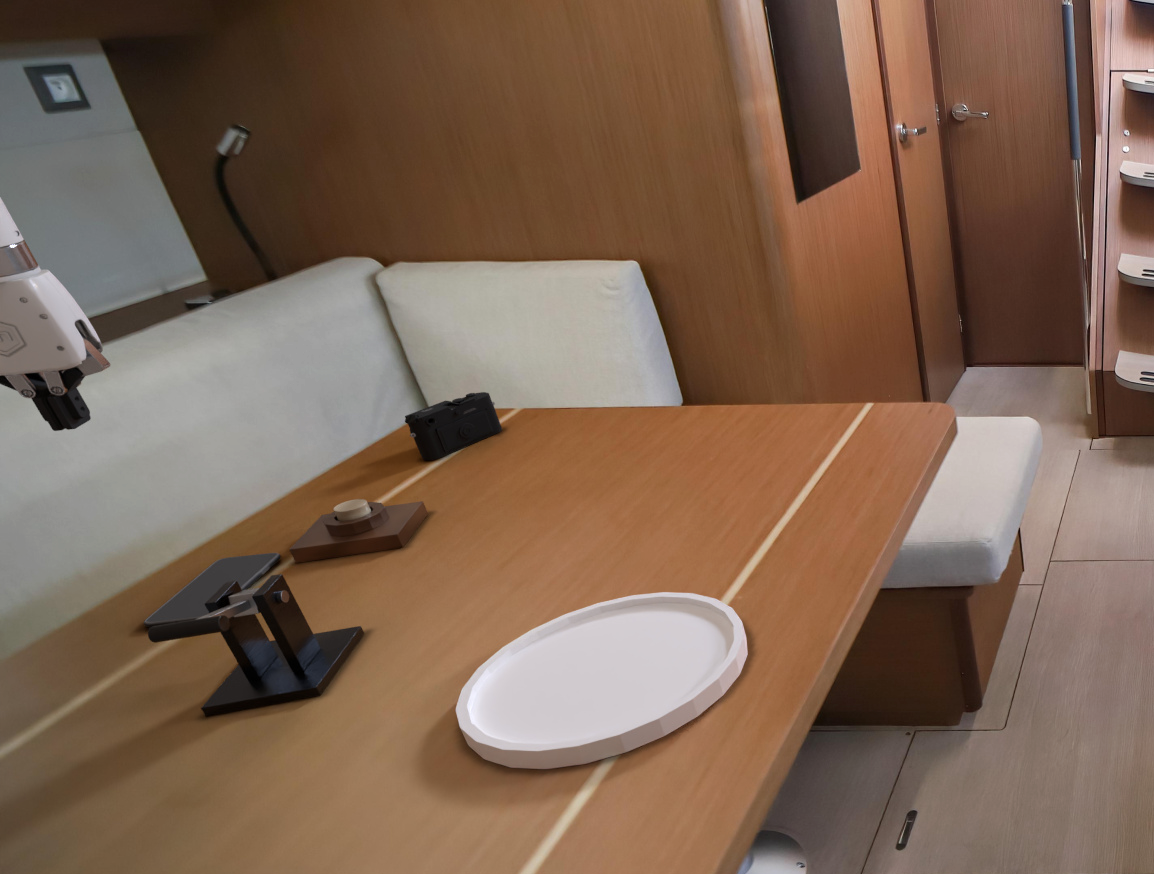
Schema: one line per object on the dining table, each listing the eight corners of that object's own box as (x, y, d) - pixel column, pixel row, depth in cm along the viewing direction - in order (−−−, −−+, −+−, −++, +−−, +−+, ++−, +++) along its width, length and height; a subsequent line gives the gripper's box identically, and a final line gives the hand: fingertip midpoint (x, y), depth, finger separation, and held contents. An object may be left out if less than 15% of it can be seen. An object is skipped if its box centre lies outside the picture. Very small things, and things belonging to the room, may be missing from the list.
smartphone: (136, 624, 116) (217, 557, 129) (140, 631, 117) (220, 563, 129) (211, 615, 118) (283, 550, 131) (215, 622, 118) (286, 556, 131)
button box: (295, 563, 130) (282, 538, 128) (328, 527, 138) (316, 503, 137) (403, 547, 134) (392, 523, 132) (428, 513, 142) (418, 490, 141)
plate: (646, 586, 127) (641, 571, 126) (800, 644, 116) (796, 628, 115) (406, 718, 104) (397, 700, 103) (570, 805, 94) (563, 786, 92)
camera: (480, 423, 171) (464, 382, 167) (511, 428, 169) (496, 387, 165) (397, 458, 158) (378, 414, 155) (430, 463, 157) (412, 419, 153)
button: (333, 524, 133) (328, 513, 132) (344, 511, 136) (339, 501, 135) (365, 519, 134) (360, 509, 133) (375, 507, 137) (371, 497, 136)
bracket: (320, 695, 107) (274, 609, 102) (205, 716, 103) (151, 629, 98) (364, 633, 117) (325, 552, 112) (261, 651, 113) (215, 568, 108)
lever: (222, 636, 97) (216, 614, 96) (151, 648, 95) (144, 625, 95) (292, 603, 108) (287, 583, 108) (230, 613, 106) (224, 592, 106)
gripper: (-157, 280, 92) (-46, 449, 101) (51, 267, 97) (140, 429, 105) (-94, 260, 99) (6, 421, 107) (98, 249, 104) (179, 404, 112)
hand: (72, 424), depth 106 cm, fingers closed
